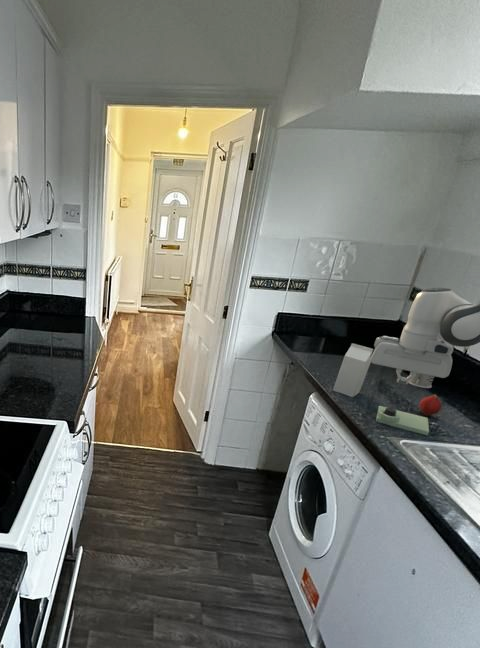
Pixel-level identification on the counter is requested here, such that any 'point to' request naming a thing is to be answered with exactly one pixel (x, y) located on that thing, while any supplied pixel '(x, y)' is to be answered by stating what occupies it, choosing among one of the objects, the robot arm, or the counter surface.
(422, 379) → the french press
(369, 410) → the counter surface
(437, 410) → the onion
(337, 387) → the milk carton
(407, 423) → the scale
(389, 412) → the tare button
